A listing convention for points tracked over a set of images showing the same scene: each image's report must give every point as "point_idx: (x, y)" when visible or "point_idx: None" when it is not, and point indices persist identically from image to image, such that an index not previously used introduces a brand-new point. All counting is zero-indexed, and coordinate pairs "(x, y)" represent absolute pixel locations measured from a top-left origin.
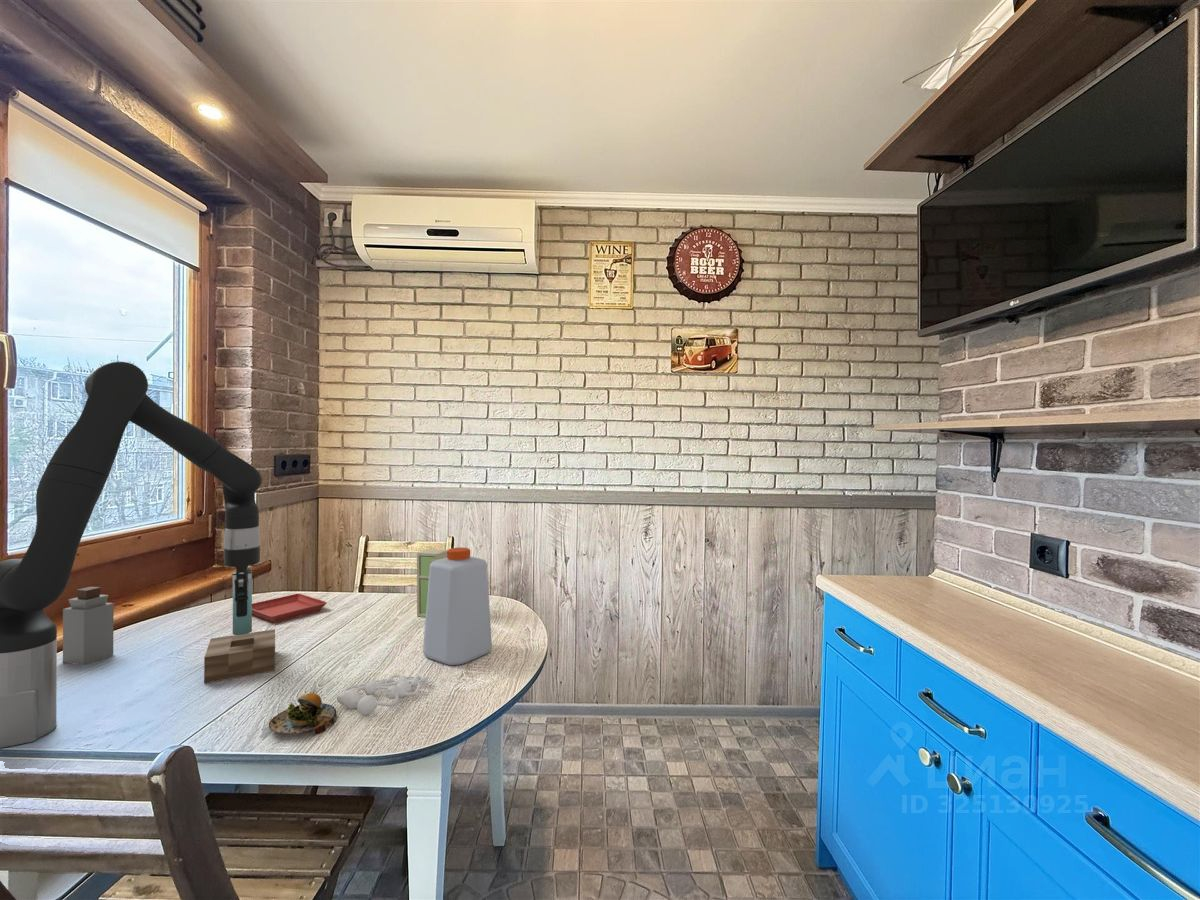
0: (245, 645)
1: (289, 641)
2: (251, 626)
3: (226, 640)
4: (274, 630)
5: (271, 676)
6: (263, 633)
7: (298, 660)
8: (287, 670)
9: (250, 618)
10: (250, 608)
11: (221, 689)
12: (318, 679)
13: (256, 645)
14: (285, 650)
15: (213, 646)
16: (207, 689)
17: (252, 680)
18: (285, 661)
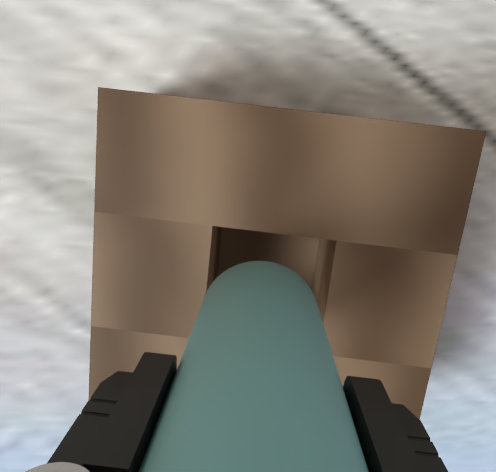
0: (341, 282)
1: (11, 10)
2: (284, 277)
3: None
4: (125, 94)
5: (487, 154)
6: (153, 166)
7: (353, 8)
8: (461, 78)
9: (304, 314)
10: (319, 368)
11: (489, 338)
12: None
13: (384, 228)
14: (153, 49)
15: None
16: (450, 378)
17: (476, 229)
18: (324, 71)
